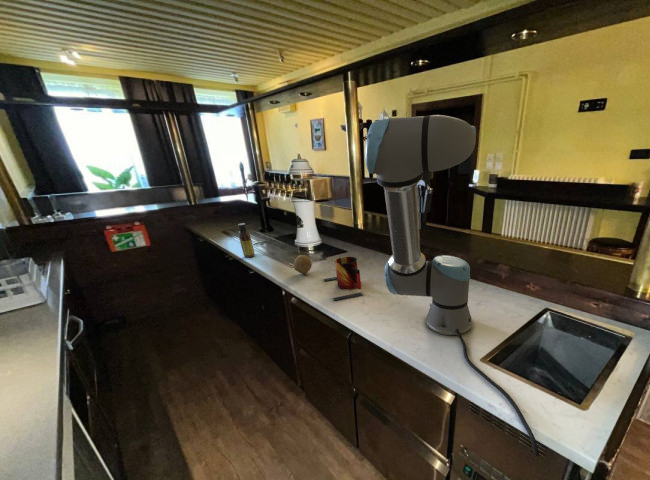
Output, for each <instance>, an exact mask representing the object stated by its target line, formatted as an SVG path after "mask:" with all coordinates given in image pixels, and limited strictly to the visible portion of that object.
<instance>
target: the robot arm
mask: <svg viewBox="0 0 650 480" xmlns="http://www.w3.org/2000/svg"><path fill="white" fill-rule="evenodd" d="M476 136H477V128H476V126H475V125H471V124H470V123H468V121H465V120H463V119H460V118H457V117H453V116H449V115H442V114H432V115H421V116H404V117H403V116H402V117H391V116H390V117H388V118H383V119H376V120H374V121H373V122H372V123H371V124H370V126H369V129H368V131H367V136H366V142H365V167H366V169H367V172H368V173H369V174H371V175H375V176H376V182H377V184H378V185H379V186H381V187H382V188H383V190H384V198H385V199H384V200H385V205H386V206H385V207H386V213H387V221H388V228H389V237H390V244H391V251H392V254H391V256H390V257H389V259H388V260H387V261H386V263H385V266H384V275H385V276H384V282H385V285H386V288H387V290H388V292H389V293H390V294H392V295H398V296H410V297H411V296H412V297H413V296H414V297H429V298H431V303H429V310H428V313H427V314H426V319H425V323H426V327H427V328H428V329H430V330H431V331H432V332H434V333H436V334H438V335H443V336H458V338H459V340H460V342H461V345H462V350H463V351H462V352H463V356H464V358H465V361H466V362H467V364H468V366H470V367H471V369H473V370H474V371H475V372H476V373H477V374H479V375H480V376H481V377H482V378H483V379H485V380H486V382H488V383H489V384H490V385H491V386H493V387H494V388H495V389H496V390H497V391H499V392H500V393H501V394H502V395H503V397H505V398H506V400H507V401H508V402H509V403H510V405H511V406H512V407H513V409H514V410H515V412H516V414H517V415H518V416H517V417H518V418H519V419H520V421H521V423H522V425H523V427H524V429H525V430H526V433H527V434H528V437H529V439H530V442H531V445H532V446H531V447H532V451H533V454H534V456H536V457H540V450H539V447H538V443H537V439H536V437H535V435H534V433H533V431H532V429H531V427H530V426H529V424H528V422H527V420H526V418H525V417H524V415H523V412H522V411H521V409H520V407H519V406H518V405H517V403H516V402H515V400H514V399H513V398H512V397H511V396H510V394H509V393H508V392H507V391H506V390H505V389H504V388H502V387H501V386H500V385H499V384H498V383H496V381H494V380H492V379H491V378H490V377H489V376H488V375H487V374H485V372H484V371H482V370H481V369H480V368H478V367H477V366H476V365H475V364H474V363H473V362H472V361H471V360H470V358H469V355H468V351H467V350H468V348H467V345H466V342H465V340H464V338H463V336H462V335H463V334H466V333H467V332H469V331H470V330H471V328H472V323H473V320H472V316H471V312H470V309H469V303H468V302H469V292H470V291H469V290H470V280H471V266H470V263H468V262H467V261H466V260H465V259H462V258H460V257H457V256H454V255H447V254H443V255H436V256H434V257H433V259H432V260H430V261H429V260H426V256H425V254H424V253H423V252H422V251H421V237H420V235H421V234H420V230H427V224H428V223H427V222H428V221H427V214H429V213H430V212H431V206H432V200H433V199H432V198H433V193H434V188H431V180H433V178H434V172H439V171H445V170H447V169H450V168H453V167H455V166H457V165H460V164H461V163H464V162H465V161H466V160H468V158H469V157H471V155H472V153H473V152H474V150H475V146H476V141H477V138H476Z"/></svg>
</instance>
